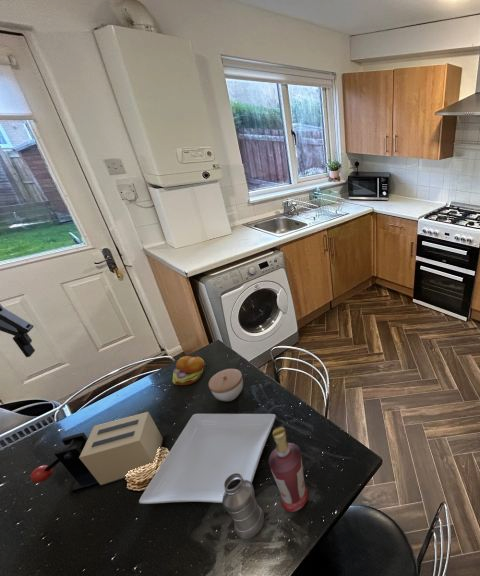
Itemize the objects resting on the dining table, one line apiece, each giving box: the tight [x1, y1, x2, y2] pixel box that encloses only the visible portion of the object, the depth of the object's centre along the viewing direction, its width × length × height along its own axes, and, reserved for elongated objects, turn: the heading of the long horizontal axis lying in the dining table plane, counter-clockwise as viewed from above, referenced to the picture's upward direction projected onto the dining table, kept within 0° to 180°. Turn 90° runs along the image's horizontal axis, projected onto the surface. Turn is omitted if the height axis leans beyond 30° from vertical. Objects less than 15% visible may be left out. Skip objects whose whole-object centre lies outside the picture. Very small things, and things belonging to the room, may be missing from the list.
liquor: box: [268, 426, 309, 513], centre depth 75 cm, size 7×7×28 cm
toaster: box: [79, 411, 165, 487], centre depth 88 cm, size 13×10×13 cm
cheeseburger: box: [172, 355, 205, 386], centre depth 119 cm, size 10×11×10 cm
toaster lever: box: [30, 439, 83, 484], centre depth 82 cm, size 14×4×4 cm
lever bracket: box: [54, 432, 100, 493], centre depth 85 cm, size 6×9×14 cm, turn 22°
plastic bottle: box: [221, 473, 265, 540], centre depth 72 cm, size 6×7×20 cm
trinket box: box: [208, 368, 244, 402], centre depth 111 cm, size 11×11×9 cm
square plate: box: [138, 413, 277, 505], centre depth 91 cm, size 27×27×4 cm
